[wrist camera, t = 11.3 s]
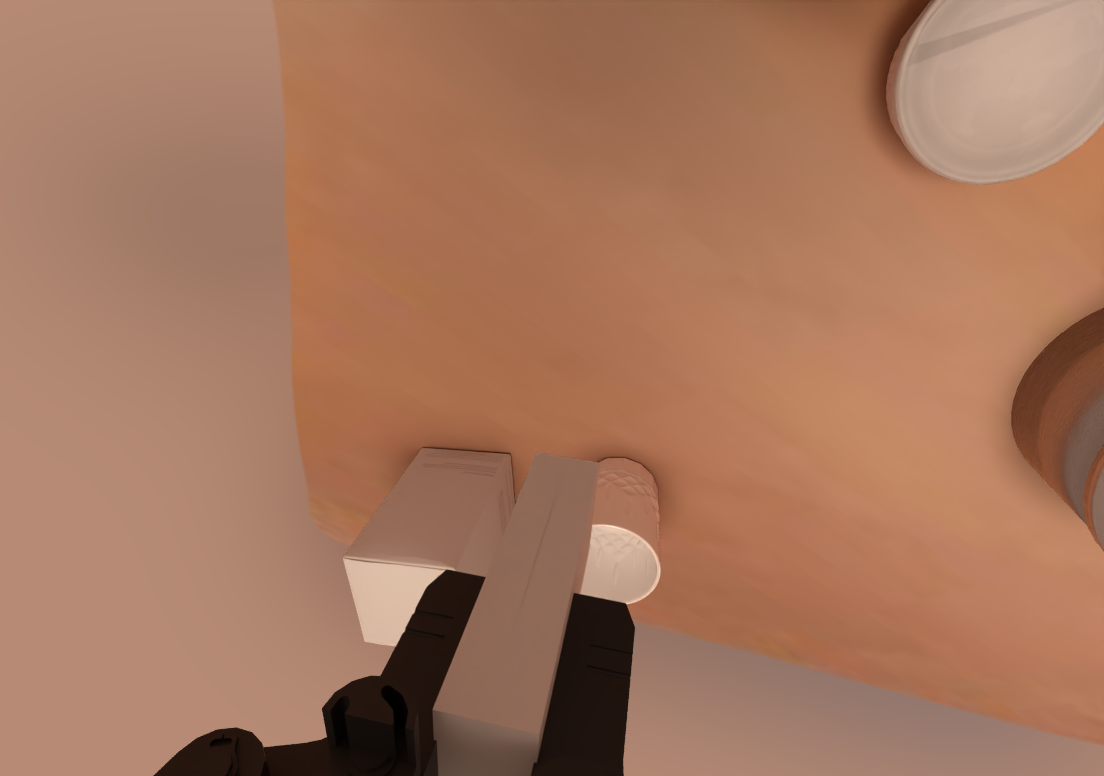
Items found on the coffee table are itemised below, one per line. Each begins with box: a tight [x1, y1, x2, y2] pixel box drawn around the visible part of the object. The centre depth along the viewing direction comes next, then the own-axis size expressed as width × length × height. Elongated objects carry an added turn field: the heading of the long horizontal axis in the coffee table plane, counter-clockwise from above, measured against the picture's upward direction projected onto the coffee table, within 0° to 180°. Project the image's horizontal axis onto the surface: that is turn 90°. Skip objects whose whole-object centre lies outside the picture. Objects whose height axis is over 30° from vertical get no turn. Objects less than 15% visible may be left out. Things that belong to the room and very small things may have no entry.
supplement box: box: [343, 448, 515, 646], centre depth 50 cm, size 9×9×15 cm
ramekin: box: [886, 0, 1104, 185], centre depth 33 cm, size 11×11×5 cm
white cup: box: [580, 458, 661, 604], centre depth 49 cm, size 8×8×10 cm
